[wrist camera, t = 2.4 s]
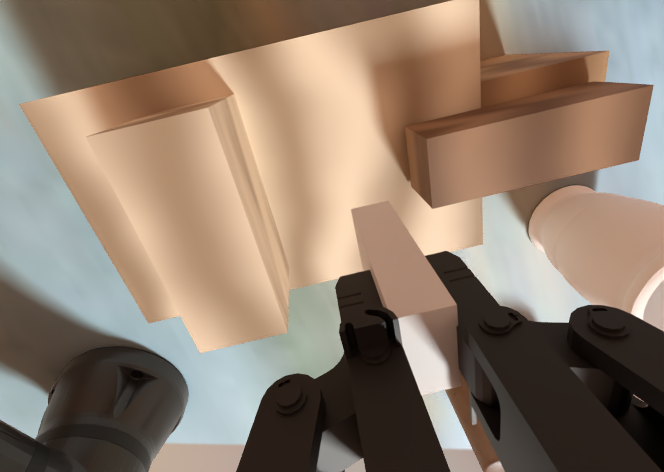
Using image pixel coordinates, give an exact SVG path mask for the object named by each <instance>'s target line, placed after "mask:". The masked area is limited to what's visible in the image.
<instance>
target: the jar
mask: <svg viewBox="0 0 664 472" xmlns="http://www.w3.org/2000/svg"><path fill="white" fill-rule="evenodd" d="M529 237H530V240H531V242H532V243H533V245H534V246H535V247H536V248H537V249H539V250H541V251H543V252H545V253H546V255H547V257H548V259H549V260H550V262H551V263H552V264H553V266H554V267H555V268H556V269H557V270H558V271H559V272H560V273H561V274H562V275H563V276H564V278H565V279H566V280H567V282H568V283H569V284H570V285H571V286H572V287H573V288H574V289H575V290H576V291H577V292H578V293H579V294H580V295H581V296H582V297H584V298H585V299H586V300H587V301H589V302H590V303H591V304H593V305H604V306H609V307H614V308H618V309H621V310H623V311H625V312H628V313H630V314H632V315H634V316H636V317H638V318H640V319H642V320H644V321H645V322H647V323H649V324H651V325H653V326H655V327H656V328H658V329H660V330H662V331H664V206H663V205H660V204H657V203H653V202H649V201H645V200H641V199H636V198H630V197H625V196H621V195H617V194H611V193H596V192H595V191H594V190H592V189H591V188H588V187H585V186H580V185H573V186H567V187H564V188H561V189H558V190H556V191H554V192H553V193H551V194H550V195H548V196H547V197H546V198H545V199H543V200H542V201H541V203H540V204H539V205H538V206H537V207H536V209H535V210H534V212H533V214H532V216H531V219H530V222H529Z"/></svg>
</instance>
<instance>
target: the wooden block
mask: <svg viewBox="0 0 664 472" xmlns="http://www.w3.org/2000/svg"><path fill="white" fill-rule="evenodd" d="M652 90H653V85H645V84H629V83H612V82H596V81H593V82H589V83H585V84H581V85H576V86H572V87H568V88H564V89H560V90H555V91H551V92H547V93H543V94H539V95H534V96H530V97H526V98H522V99H518V100H513V101H509V102H505V103H501V104H497V105H493V106H488V107H484V108H480V109H476V110H472V111H467V112H463V113H459V114H455V115H451V116H446V117H442V118H438V119H434V120H430V121H425V122H421V123H417V124H413V125H409V126H404V127H405V136H406V145H407V154H408V163H409V172H410V181H411V187H412V188H413V189H414V190H415V191H416V192H417V193H418V194H419V195H420V196H421V197H422V198H423V200H424V201H425V202H426V203H427V204H428V205H429V206H430V207H431V208H432V209H434V208H439V207H443V206H447V205H451V204H456V203H460V202H464V201H468V200H472V199H477V198H481V197H485V196H489V195H493V194H498V193H502V192H506V191H510V190H514V189H519V188H523V187H527V186H531V185H536V184H540V183H544V182H548V181H552V180H557V179H561V178H565V177H569V176H573V175H578V174H582V173H586V172H590V171H594V170H599V169H603V168H607V167H611V166H616V165H620V164H624V163H628V162H632V161H637V160H639V156H640V151H641V146H642V141H643V136H644V131H645V126H646V121H647V115H648V110H649V105H650V100H651V95H652Z"/></svg>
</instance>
